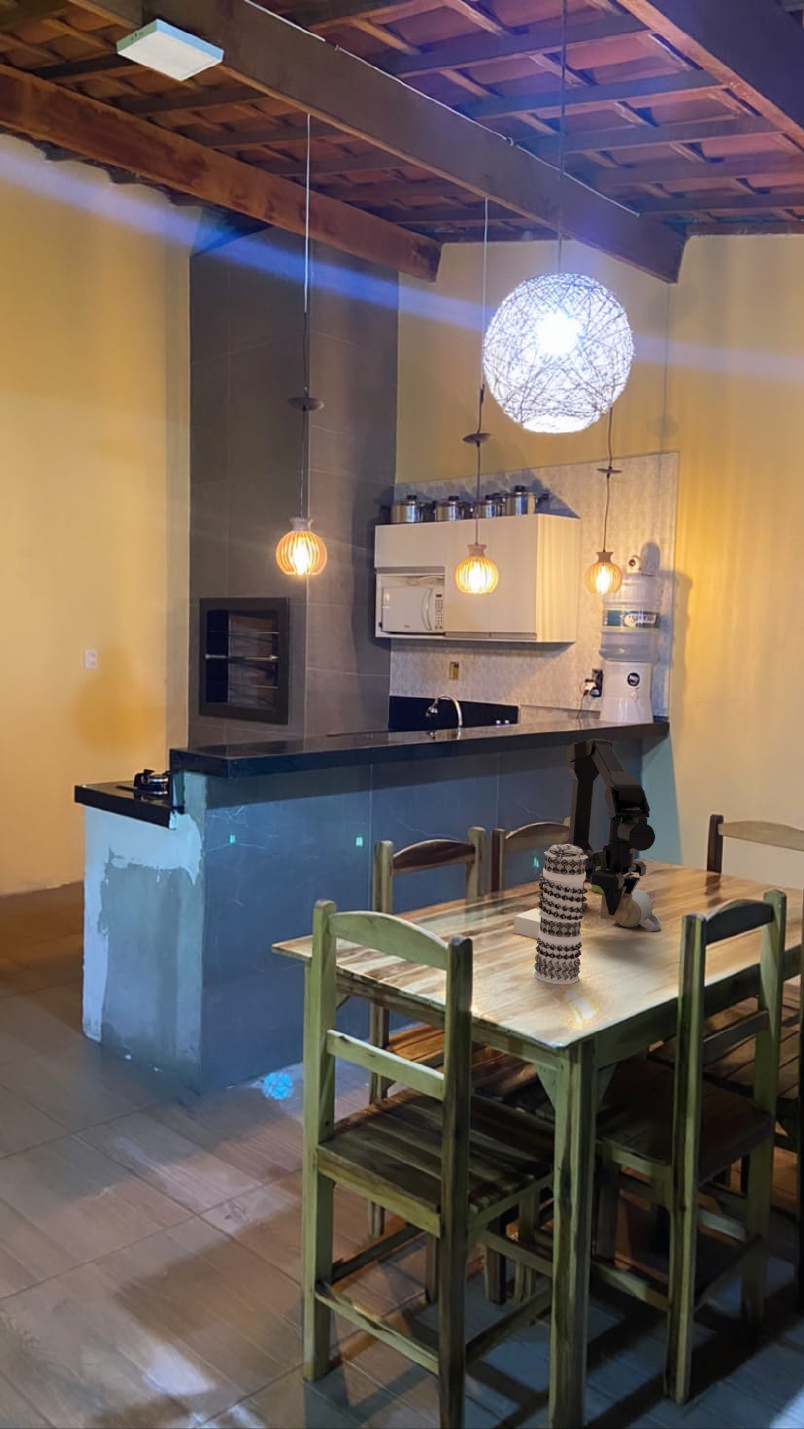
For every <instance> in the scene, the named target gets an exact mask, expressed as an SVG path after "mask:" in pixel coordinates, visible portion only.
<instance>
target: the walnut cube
mask: <svg viewBox="0 0 804 1429" xmlns="http://www.w3.org/2000/svg"><path fill="white" fill-rule="evenodd" d="M600 905H601V906H600V916H599V917H600V918H601V919H606V920H609V921H615V922H616V921H619V922H624V921H626V920H627V919H629V918H631V907H632V894H627V893H624V894H623V896H622V899H621V901H620V903H619V906H618V908H617V910H616V912H615V915H609V913H608V908H607V903H606V899H605V895H604V894H601V904H600Z"/></svg>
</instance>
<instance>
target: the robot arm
mask: <svg viewBox="0 0 804 1429" xmlns="http://www.w3.org/2000/svg"><path fill="white" fill-rule="evenodd" d="M566 761H567V769H568V770H569V773H570V774H571V777H572V779H573V780H572V781H573V782H572V791H571V792H572V794H571V805H570V807H571V808H570V817H569V819H570V820H569V829H568V832H569V833H568V839H567V840H566V841H565V843H564V844H569V845H575V846H578V847H580V848H581V849H582V850H583V852H584V854H585V855H587V856H588V857H587V858H586V860H585V872H586V876H585V877H586V878H587V879H589V882H588V884H590V885H591V886H592V885H597V886H599V887H600V888H601V889H602V890H603V891H604V895H605V899H606V903H607V908H608V913H609V915H615V912H616V910H617V908H618V906H619V903H620V901H621V899H622V896H623V894H624V893H627V894H632V892H633V891H634V889H636V887H637V886H638V884H639V882H640V880H641V878H640V877H643V876H645V875H646V874H647V865H646V864H645V863H644V861H642V860H637V859H635V852H637V851H638V852H643V851H647V850H649V849H650V848H652V846H653V845H654V843H655V841H656V833H655V830H654V828H653V827H652V826H651V825H649V824H648V818H650V817H651V816H650V811H651V809H650V805H649V802H648V799H647V795H646V792H645V789H644V788H643V786H642V784H641V783H640V782H639V781H638V779H636V778H635V777H633V776H631V775H629V774H628V773H626V770H625V769H624V767H623V766H622V763H621V762H620V760H619V758H618V757H617V755H616V752H615V751H614V749H613V744H612V741H611V740H608V739H606V738H605V739H604V738H591V739H588V740H586V741H581V742H572V743H571V745H570V746H568V747H567V749H566ZM599 775H600V777H601V779H602V780H603V781H604V784H605V790H604V791H605V792H604V798H605V802H606V804H607V807H608V809H609V810H608V812H607V816H609V818H608V820H609V821H608V831H607V832H608V834H607V843H605V844H604V845H603V846H602V849H599V850H593V847H592V846H591V844H590V832H591V831H590V829H591V820H592V819H591V818H592V807H593V806H592V804H593V794H594V793H593V792H594V782H595V781H596V780H597V778H598V776H599ZM597 866H601V868H600V869H599V870H597V871H595V870H596V867H597ZM605 869H608V870H605ZM635 874H638V876H639V877H637V876H635ZM583 887H584V888H585V883H584V881H583ZM582 895H583V896H584V894H582ZM582 905H583V907H584V908H586V907H588V905H589V903H587V902H582Z"/></svg>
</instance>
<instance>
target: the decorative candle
mask: <svg viewBox="0 0 804 1429" xmlns="http://www.w3.org/2000/svg"><path fill="white" fill-rule="evenodd" d="M543 853H544V867H543V869H542V872H541V873H540V875H538V879H539V880H540V881H539V883H538V888H539V890H540V892H539V894H537V896H538V898H539V901H538V904H537V905H538V909H539V910H540V911H539V916H540V917H541V920H540V929H539V934H538V938H537V939H536V938H535V939H536V944H537V946H536V947H535V950H536V951H535V952H537V954H535V956H534V961H535V963H534V966H533V967H534V969H535V970H534V973H533V975H534V977H535V978H536V979H537V980H539V981H542V982H544V983H547V984H554V985H563V986H565V985H573V983H574V984H576V983H578V982H579V981H580V975H579V974H580V973H581V970H580V969H581V968H580V966H581V964H582V963H581V960H580V958H579V957H580V956H582V952H581V951H582V950H581V948H582V947H583V945H582V942H581V940H582V938H581V937H582V933H581V927H582V926H581V925H582V924H581V922H582V921H583V920H584V919H585V917H584V914H582V913H584V912H585V911H586V907H583V905H582V902H583V903H586V901H587V900H588V898H587V897H586V896H585V894H587V893H588V892H589V890H588V888H586V887H585V886H584V887H583V881H584V885H586V884H587V883H588V882H589V879H587V878H586V877H585V876H586V872H585V860H586V858H587V857H588V856H587V855H585V854H584V852H583V850H582V849H581V848H580V847H578V846H575V845H569V844H565V843H556V844H552V845H551V846H550V847H549V849H548V850H545V851H544V852H543ZM588 884H589V883H588ZM582 894H583V895H582ZM578 980H579V981H578ZM575 982H576V983H575Z"/></svg>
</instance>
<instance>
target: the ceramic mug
mask: <svg viewBox="0 0 804 1429" xmlns="http://www.w3.org/2000/svg"><path fill="white" fill-rule="evenodd" d="M653 908H654V907H653V901H652V899H651V898H650V896H649V894H647V893H646V892H645V891H643V890H642V889H639V888H635V889H634V891H633V892H632V907H631V918H629V919H627V920H626V921H624V922H619V921H615V922H616V923H617V925H619V926H620V927H624V928H629V929H630V928H634V927H637V926H639V925H640V926H641V927H643V928H644V929H647V930H649V931H652V932H656V931H658V930H660V928H661V926H662V922H661V920H660V919H659V917H657V916H656V915H655V914H654V913H653ZM647 920H650V921H651V922H652V923H653V924H652V923H650V922H649V921H647Z"/></svg>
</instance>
